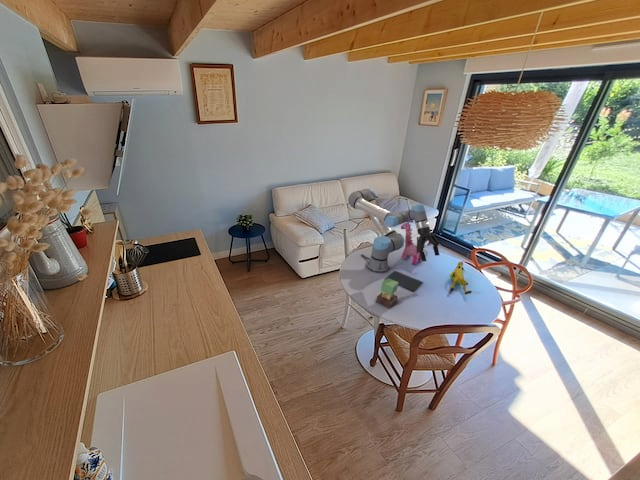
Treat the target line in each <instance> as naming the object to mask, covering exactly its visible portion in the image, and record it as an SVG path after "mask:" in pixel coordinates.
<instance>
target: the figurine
mask: <svg viewBox="0 0 640 480" xmlns="http://www.w3.org/2000/svg"><path fill="white" fill-rule="evenodd" d="M464 272H466V270H465V269H464V262H462V261H458V263H457V265H456V267H455V268H454V270H452V271H451V273H450V274H449V277H450V279H452V281H453V282H452V283H451V285H450V289H449V293H452V292H453V291H454V290H455V288H454V287H455V285H456V284H458V285H461V286H462V290H463V292H464V295H470V294H471V293H472V290H467V287H466V286H469V282H467V280H466V279H465V277H464Z"/></svg>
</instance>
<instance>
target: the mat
mask: <svg viewBox="0 0 640 480" xmlns="http://www.w3.org/2000/svg"><path fill="white" fill-rule="evenodd" d="M387 278H389V279H392V280H394V281H396V282H399V283H398V287H399V286H400V287H402V288H404V289H407V290H409V291H411V292H415V291H416V290H417V289H418V288H419V287H420V286H421V285H422V284H423V282H422V281H421V280H418V279H416V278H413V277H411V276H408V275H406V274H403V273H401V272H398V271H395V270H394V271H393V272H392V273H391V274H389V275H388V276H387V277H385V278H384V279H385V280H386V279H387ZM385 280H384V281H385Z"/></svg>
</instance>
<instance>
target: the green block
mask: <svg viewBox="0 0 640 480" xmlns="http://www.w3.org/2000/svg"><path fill="white" fill-rule="evenodd" d="M386 278H387V277H386ZM386 278H385V279H386ZM398 283H399V282H396V281H394V280H392V279H389V278H387V279H386V280H384V281H382V282H381V287H380V291H381V292H385V293H387V294H389V295H392V294H393V295H395V293H396V292H397V291H398V288H399V285H398Z"/></svg>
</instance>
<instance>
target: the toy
mask: <svg viewBox="0 0 640 480" xmlns="http://www.w3.org/2000/svg"><path fill="white" fill-rule="evenodd" d="M411 227H412V225H411V221H408V222H405V223H402V224H401V226H400V229H401V230H405V237H404V240H405V242H404V249H403V252H402V254H401V258H402V259H404V260H406V259H407V257H412V259H411V261H412V265H417V263H418V262H419V263H421V262H423V261H422V259H421V256H420V253H419V252H417V251H416V250H417V244H414V242H413V241H414V240H413V239H412V238H413V236H412V235H413V233H412V231H413V228H411ZM423 251H424V253H425V257H426V258H427V257H428V254H429V253H428V251H427V249H425V248H424V249H423Z"/></svg>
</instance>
